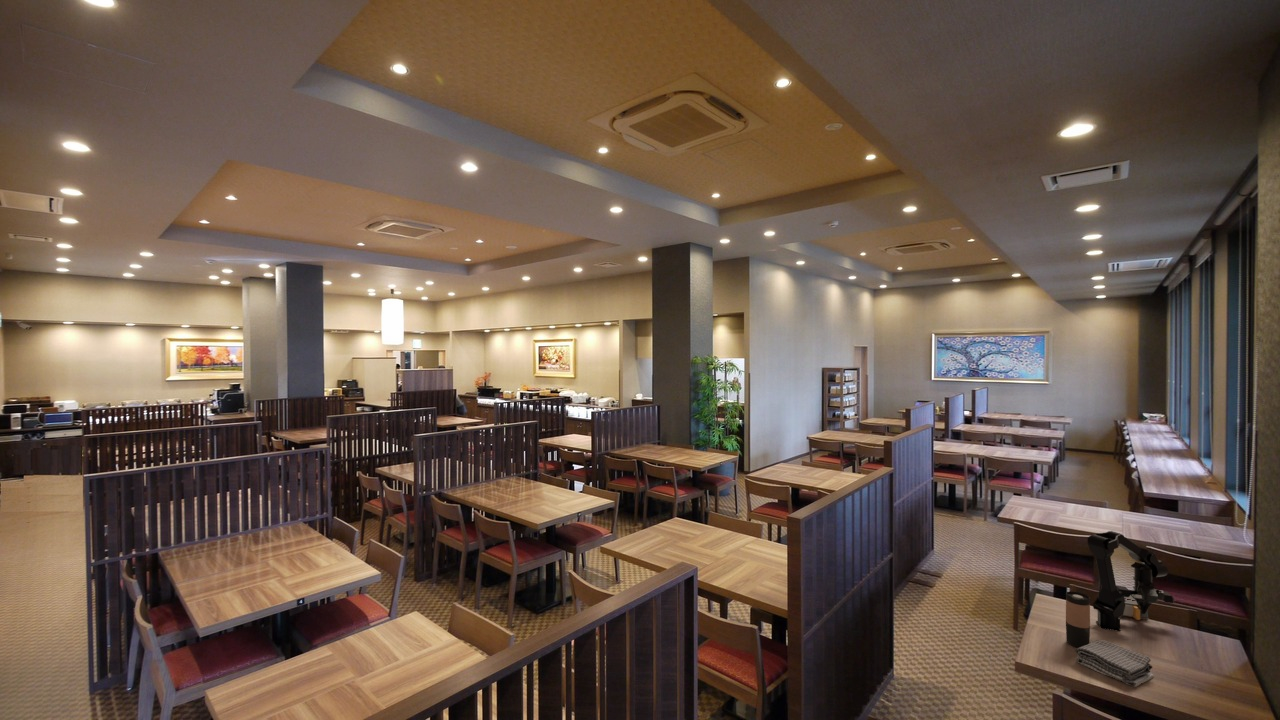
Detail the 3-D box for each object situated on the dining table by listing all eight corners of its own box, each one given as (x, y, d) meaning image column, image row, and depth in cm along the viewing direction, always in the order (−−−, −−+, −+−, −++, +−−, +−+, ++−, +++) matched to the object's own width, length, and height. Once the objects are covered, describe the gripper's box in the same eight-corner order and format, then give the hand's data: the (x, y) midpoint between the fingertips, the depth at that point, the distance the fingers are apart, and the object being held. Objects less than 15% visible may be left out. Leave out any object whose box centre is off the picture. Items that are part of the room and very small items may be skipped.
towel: (1096, 654, 212) (1096, 634, 212) (1156, 680, 196) (1156, 658, 196) (1074, 664, 206) (1074, 643, 206) (1134, 690, 189) (1134, 668, 189)
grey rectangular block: (1117, 616, 241) (1117, 606, 241) (1113, 612, 245) (1113, 602, 245) (1140, 620, 238) (1140, 609, 238) (1136, 616, 242) (1136, 605, 242)
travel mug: (1081, 640, 222) (1081, 591, 222) (1095, 650, 215) (1095, 599, 215) (1061, 639, 223) (1061, 590, 223) (1074, 649, 216) (1074, 599, 215)
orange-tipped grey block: (1105, 613, 246) (1105, 598, 246) (1097, 604, 255) (1097, 590, 255) (1148, 619, 240) (1148, 604, 240) (1138, 610, 249) (1138, 595, 249)
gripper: (1123, 581, 234) (1123, 617, 234) (1180, 588, 227) (1180, 626, 227) (1113, 572, 245) (1113, 606, 245) (1167, 578, 237) (1167, 614, 237)
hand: (1143, 613), depth 238 cm, fingers closed
